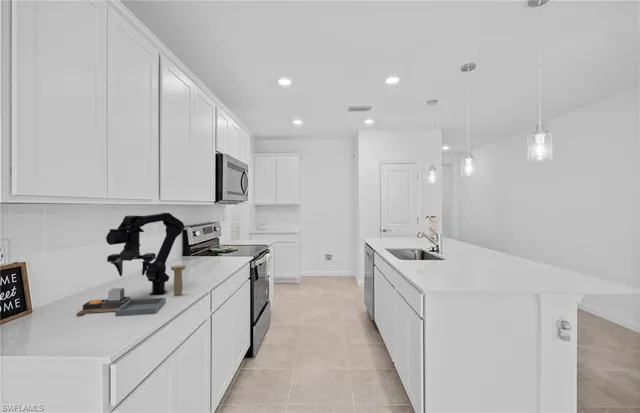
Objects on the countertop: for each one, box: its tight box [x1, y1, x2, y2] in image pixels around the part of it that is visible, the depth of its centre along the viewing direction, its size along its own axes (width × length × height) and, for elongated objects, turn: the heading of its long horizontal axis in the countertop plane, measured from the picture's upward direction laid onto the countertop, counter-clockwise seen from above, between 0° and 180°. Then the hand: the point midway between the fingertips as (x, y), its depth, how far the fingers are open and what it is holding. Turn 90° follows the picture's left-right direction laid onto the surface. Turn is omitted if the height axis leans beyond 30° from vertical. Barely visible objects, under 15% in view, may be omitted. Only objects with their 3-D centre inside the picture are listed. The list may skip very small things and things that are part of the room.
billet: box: [107, 287, 125, 302], centre depth 132 cm, size 4×4×7 cm
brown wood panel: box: [76, 296, 131, 317], centre depth 131 cm, size 15×16×4 cm
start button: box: [88, 299, 103, 304], centre depth 130 cm, size 4×4×2 cm
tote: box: [114, 297, 167, 317], centre depth 129 cm, size 15×15×3 cm
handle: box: [170, 264, 186, 297], centre depth 149 cm, size 5×6×15 cm
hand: (132, 275), depth 141 cm, fingers open, 9 cm apart
